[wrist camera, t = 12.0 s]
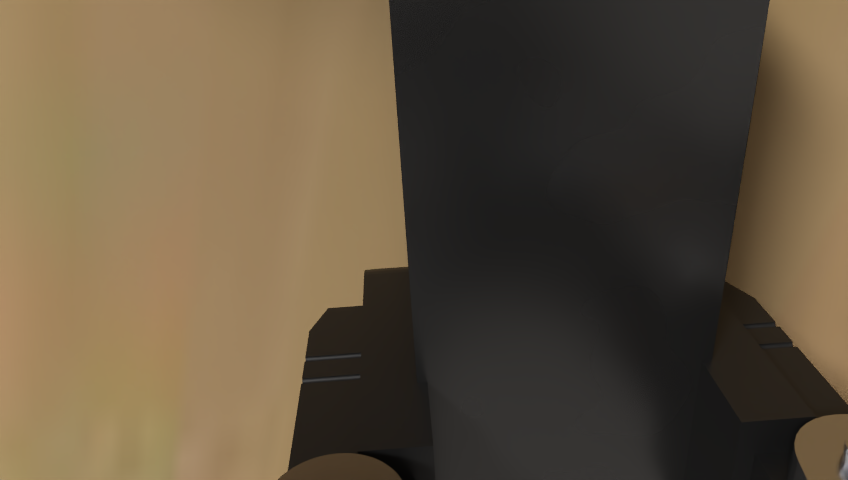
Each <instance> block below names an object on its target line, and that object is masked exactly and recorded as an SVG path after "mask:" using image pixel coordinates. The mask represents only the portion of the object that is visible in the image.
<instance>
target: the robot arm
mask: <svg viewBox="0 0 848 480" xmlns="http://www.w3.org/2000/svg"><path fill="white" fill-rule="evenodd" d="M302 381H303V384H301V390H300V396H299V403H298V409H297V416H296V422H295V429H294V435H293V442H292V448H291V454H290V461H289V467H288V471H287V472H286V473H285V474H283V475H282V476H281V477H280V478H279V479H278V480H435V465H434V450H433V437H432V427H431V416H430V405H429V394H428V383H427V382H423V383H417V377H416V364H415V350H414V336H413V322H412V309H411V295H410V281H409V267H398V268H385V269H371V270H365V272H364V294H363V306H353V307H340V308H328V309H327V311H326V312H325V313H324V314H323V315H322V317H321V318H320V319H319V320H318V321H317V323H316V324H315V325H314V326H313V328H312V329H311V330H310V331H309V338H308V344H307V351H306V362H305V364H304V370H303V377H302ZM684 480H848V405H847V404H846V402H845V401H844V400H843V399H842V398H841V397H840V396H839V394H838V393H837V392H836V391H835V390H834V389H833V388H832V386H831V385H830V384H829V383H828V382H827V381H826V380H825V378H824V377H823V376H822V375H821V374H820V373H819V372H818V370H817V369H816V368H815V367H814V366H813V365H812V364H811V362H810V361H809V360H808V359H807V358H806V357H805V355H804V354H803V353H802V352H801V351H800V350H799V349H798V347H793V345H792V341H791V339H790V338H789V337H788V336H787V335H786V334H785V333H784V331H783V330H782V329H781V328H780V327H776V326H775V321H774V320H773V319H772V318H771V317H770V315H769V314H768V313H767V312H766V311H765V310H764V309H763V307H762V306H761V305H760V304H759V303H758V302H757V301H756V299H755V298H753V297H751V296H750V295H748V294H746V293H744V292H743V291H741V290H739V289H737V288H736V287H734V286H732V285H731V284H729V283H727V282H725V283H724V289H723V295H722V301H721V308H720V314H719V320H718V327H717V333H716V339H715V345H714V352H713V358H712V361H702V363H701V370H700V377H699V383H698V390H697V396H696V403H695V410H694V416H693V423H692V429H691V436H690V442H689V449H688V456H687V462H686V469H685V475H684Z"/></svg>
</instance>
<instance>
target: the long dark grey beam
mask: <svg viewBox="0 0 848 480" xmlns="http://www.w3.org/2000/svg"><path fill="white" fill-rule="evenodd" d="M769 1H770V0H389V6H390V20H391V33H392V47H393V61H394V75H395V88H396V102H397V116H398V130H399V143H400V157H401V171H402V185H403V198H404V212H405V226H406V240H407V253H408V267H409V281H410V295H411V309H412V322H413V336H414V350H415V364H416V377H417V383H423V382H427V383H428V394H429V405H430V416H431V427H432V437H433V450H434V465H435V480H684V475H685V469H686V462H687V456H688V449H689V442H690V436H691V429H692V423H693V416H694V410H695V403H696V396H697V390H698V383H699V377H700V370H701V363H702V361H712V358H713V352H714V345H715V339H716V333H717V327H718V320H719V314H720V308H721V301H722V295H723V289H724V283H725V276H726V270H727V264H728V258H729V251H730V245H731V239H732V233H733V226H734V220H735V214H736V208H737V201H738V195H739V189H740V183H741V176H742V170H743V164H744V158H745V151H746V145H747V139H748V133H749V126H750V120H751V114H752V108H753V101H754V95H755V89H756V83H757V76H758V70H759V64H760V57H761V51H762V45H763V39H764V32H765V26H766V20H767V14H768V7H769Z"/></svg>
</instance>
